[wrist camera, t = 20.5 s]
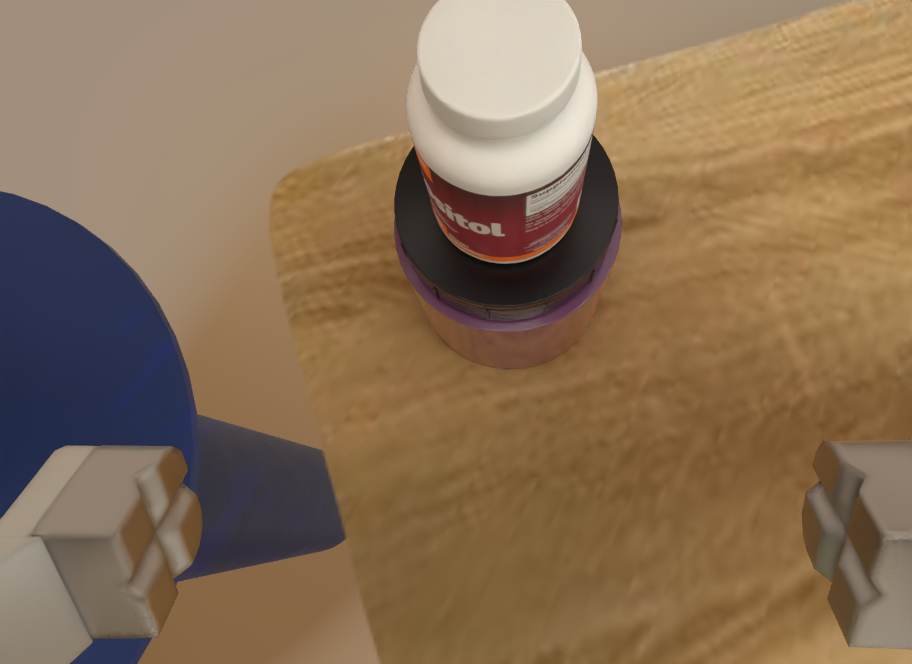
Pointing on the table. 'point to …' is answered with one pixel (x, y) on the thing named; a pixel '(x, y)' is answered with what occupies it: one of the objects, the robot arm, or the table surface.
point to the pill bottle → (502, 123)
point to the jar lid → (514, 284)
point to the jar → (514, 338)
